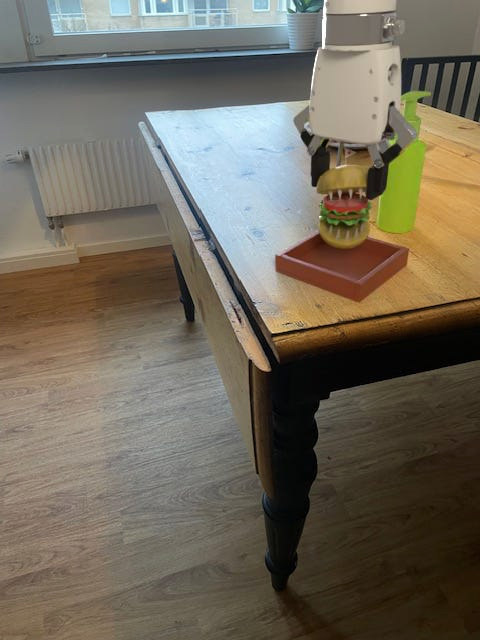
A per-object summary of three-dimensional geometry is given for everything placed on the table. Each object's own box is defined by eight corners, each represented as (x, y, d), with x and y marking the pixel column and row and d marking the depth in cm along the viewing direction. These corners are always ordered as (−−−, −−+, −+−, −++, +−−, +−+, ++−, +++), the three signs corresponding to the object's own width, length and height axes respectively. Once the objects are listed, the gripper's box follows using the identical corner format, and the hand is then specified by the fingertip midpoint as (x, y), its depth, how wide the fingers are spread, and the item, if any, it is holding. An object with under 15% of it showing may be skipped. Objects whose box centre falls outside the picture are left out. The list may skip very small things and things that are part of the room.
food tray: (407, 265, 70) (409, 248, 69) (359, 302, 63) (361, 284, 61) (326, 240, 78) (326, 225, 77) (275, 271, 71) (275, 254, 69)
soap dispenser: (423, 222, 82) (445, 90, 71) (402, 236, 78) (421, 98, 67) (391, 214, 86) (407, 87, 74) (369, 227, 82) (382, 95, 71)
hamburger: (318, 254, 65) (321, 162, 59) (310, 232, 71) (313, 146, 65) (377, 251, 65) (387, 158, 59) (365, 229, 71) (373, 142, 65)
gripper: (450, 30, 52) (424, 195, 61) (312, 28, 62) (308, 171, 72) (417, 37, 47) (394, 214, 57) (273, 34, 57) (275, 185, 67)
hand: (346, 189), depth 64 cm, fingers closed on hamburger, 7 cm apart
